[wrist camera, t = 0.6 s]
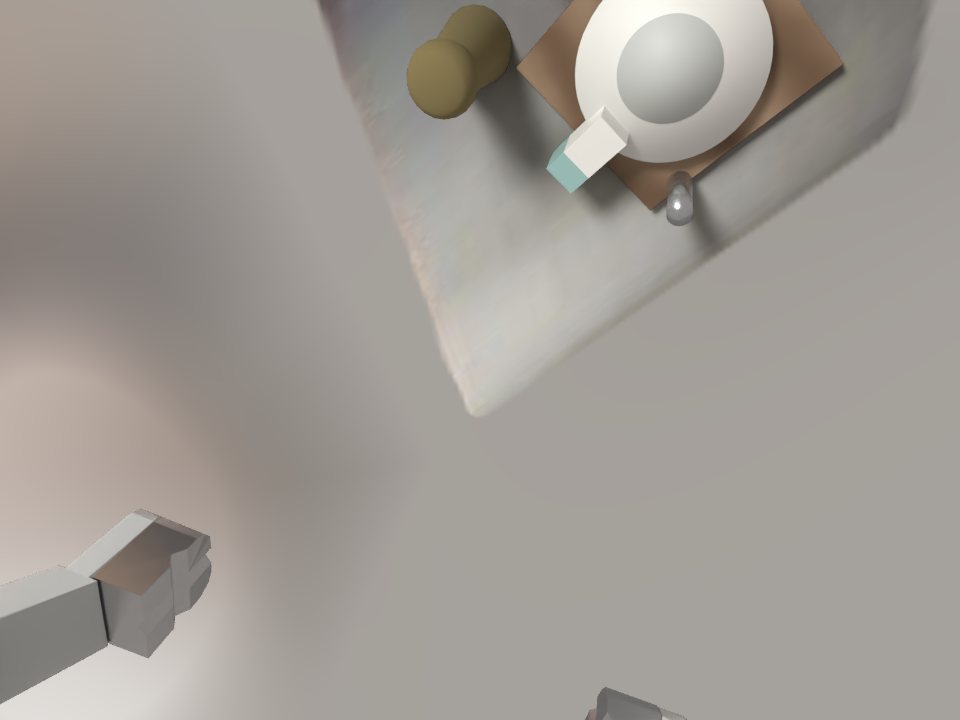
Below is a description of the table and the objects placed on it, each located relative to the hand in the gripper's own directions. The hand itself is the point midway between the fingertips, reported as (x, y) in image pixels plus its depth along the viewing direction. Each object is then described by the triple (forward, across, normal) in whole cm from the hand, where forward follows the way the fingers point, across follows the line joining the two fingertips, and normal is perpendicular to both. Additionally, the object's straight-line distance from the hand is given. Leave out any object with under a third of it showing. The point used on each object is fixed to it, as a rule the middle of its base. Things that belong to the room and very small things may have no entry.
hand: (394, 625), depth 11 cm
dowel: (+47, -7, -4) cm, 48 cm away
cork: (+45, +12, -10) cm, 48 cm away
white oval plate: (+44, -2, -10) cm, 45 cm away
